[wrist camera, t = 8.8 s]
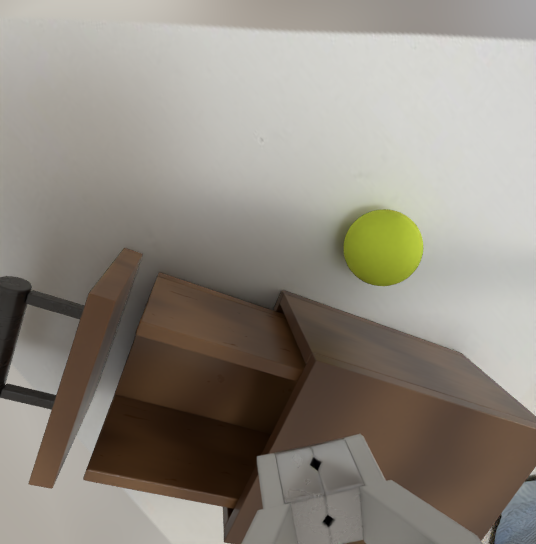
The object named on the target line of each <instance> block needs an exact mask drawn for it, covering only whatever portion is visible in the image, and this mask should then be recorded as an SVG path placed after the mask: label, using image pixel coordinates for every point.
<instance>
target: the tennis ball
mask: <svg viewBox="0 0 536 544" xmlns="http://www.w3.org/2000/svg"><path fill="white" fill-rule="evenodd" d="M422 254H423V240H422V236H421V233H420V231H419V229H418V227H417V226H416V225H415V223H414V222H413V221H412V220H411V219H410V218H408V217H407V216H405V215H403V214H402V213H400V212H397V211H393V210H385V209H384V210H375V211H371V212H369V213H366V214H364V215H363V216H361V217H360V218H358V219H357V220H356V221H355V222H354V223H353V224H352V225H351V227H350V228H349V230H348V232H347V234H346V236H345V240H344V257H345V260H346V263H347V265H348V267H349V268H350V270H351V271H352V272H353V274H354V275H355V276H357V277H358V278H359V279H361V280H362V281H364V282H366V283H369V284H372V285H376V286H389V285H394V284H397V283H400V282H402V281H403V280H405V279H407V278H408V277H409V276H410V275H411V274H412V273H413V272H414V271H415V270H416V268H417V267H418V265H419V263H420V261H421V258H422Z"/></svg>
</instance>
